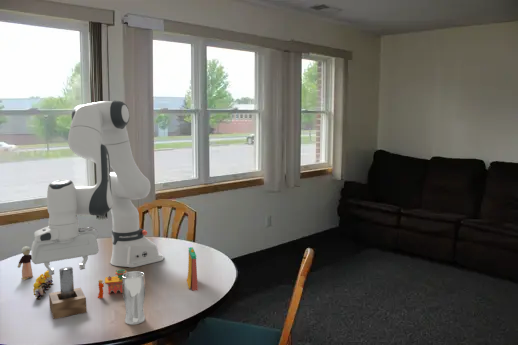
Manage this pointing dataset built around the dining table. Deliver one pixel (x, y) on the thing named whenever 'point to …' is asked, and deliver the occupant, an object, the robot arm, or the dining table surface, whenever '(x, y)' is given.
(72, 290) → the metal peg
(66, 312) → the wooden block with hole
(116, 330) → the dining table surface
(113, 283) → the toy building block set
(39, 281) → the figurine set
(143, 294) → the beer glass
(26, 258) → the grandmother figurine
